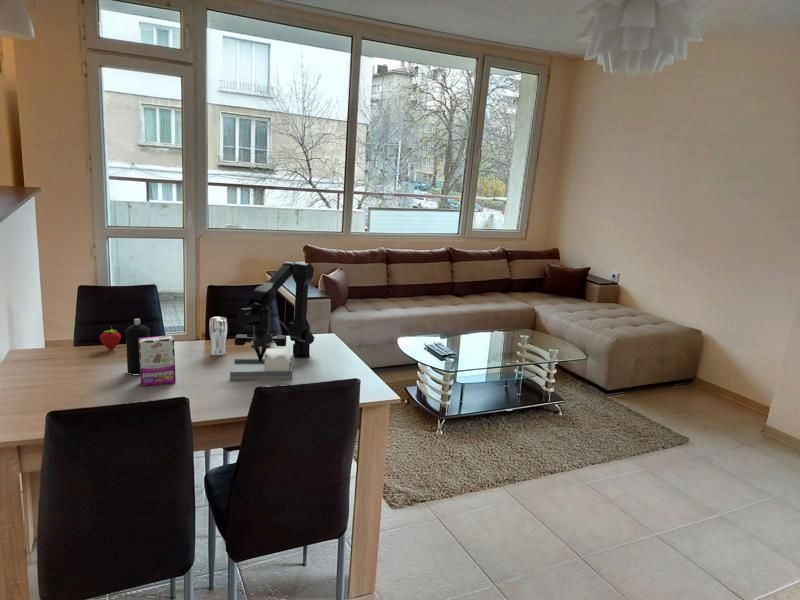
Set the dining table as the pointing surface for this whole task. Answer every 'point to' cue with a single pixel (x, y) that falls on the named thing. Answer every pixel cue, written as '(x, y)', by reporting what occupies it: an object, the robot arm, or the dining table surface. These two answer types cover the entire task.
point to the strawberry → (110, 338)
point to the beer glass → (218, 335)
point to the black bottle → (135, 345)
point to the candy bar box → (157, 360)
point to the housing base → (257, 370)
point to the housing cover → (277, 360)
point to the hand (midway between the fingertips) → (260, 361)
